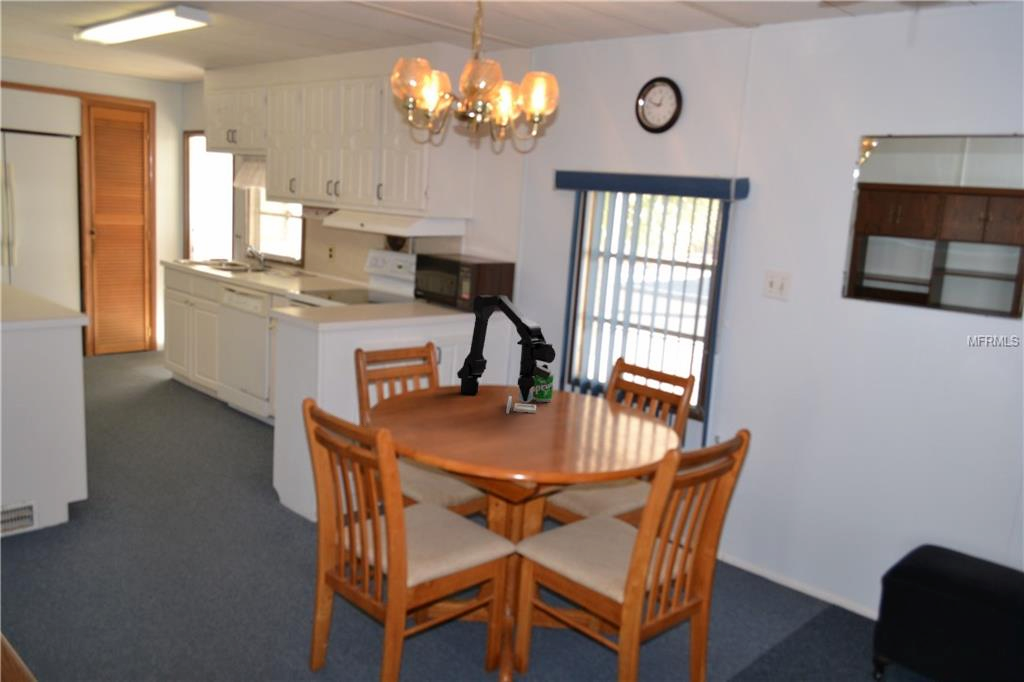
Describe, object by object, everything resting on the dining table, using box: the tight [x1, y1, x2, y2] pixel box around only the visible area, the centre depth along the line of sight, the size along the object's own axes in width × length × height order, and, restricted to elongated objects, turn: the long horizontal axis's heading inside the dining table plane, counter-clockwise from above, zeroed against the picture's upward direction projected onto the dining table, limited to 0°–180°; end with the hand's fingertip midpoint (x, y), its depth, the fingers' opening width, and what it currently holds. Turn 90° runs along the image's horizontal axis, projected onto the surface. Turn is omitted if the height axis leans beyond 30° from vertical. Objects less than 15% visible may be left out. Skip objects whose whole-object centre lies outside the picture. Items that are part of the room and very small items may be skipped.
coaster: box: [513, 402, 537, 414], centre depth 296 cm, size 8×8×1 cm
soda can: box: [532, 369, 555, 403], centre depth 311 cm, size 8×8×12 cm
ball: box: [518, 390, 533, 404], centre depth 295 cm, size 5×5×5 cm
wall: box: [505, 395, 513, 414], centre depth 296 cm, size 1×14×3 cm, turn 176°
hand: (525, 399), depth 295 cm, fingers closed on ball, 5 cm apart
